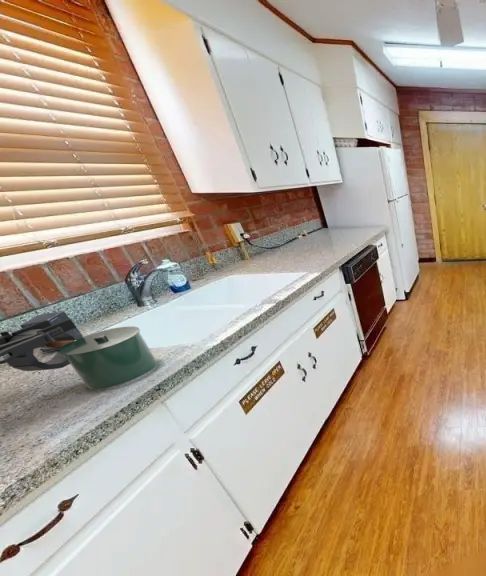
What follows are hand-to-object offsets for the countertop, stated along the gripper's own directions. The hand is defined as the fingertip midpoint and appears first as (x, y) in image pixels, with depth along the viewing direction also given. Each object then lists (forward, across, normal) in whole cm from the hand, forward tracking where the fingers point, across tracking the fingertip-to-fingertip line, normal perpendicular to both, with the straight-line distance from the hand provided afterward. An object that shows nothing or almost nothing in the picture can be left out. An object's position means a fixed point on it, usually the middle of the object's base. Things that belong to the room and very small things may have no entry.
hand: (60, 323), depth 82 cm
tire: (-5, 0, -10) cm, 12 cm away
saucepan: (-5, +7, -15) cm, 17 cm away
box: (+14, -22, -15) cm, 30 cm away
